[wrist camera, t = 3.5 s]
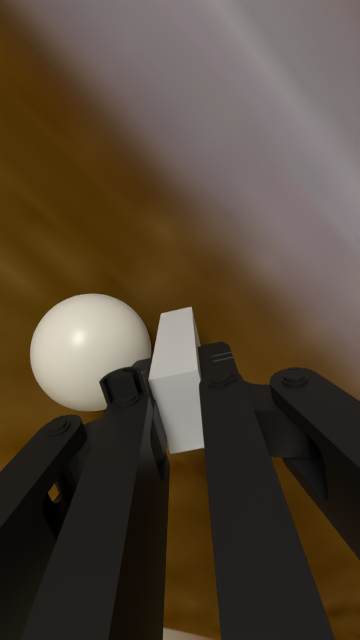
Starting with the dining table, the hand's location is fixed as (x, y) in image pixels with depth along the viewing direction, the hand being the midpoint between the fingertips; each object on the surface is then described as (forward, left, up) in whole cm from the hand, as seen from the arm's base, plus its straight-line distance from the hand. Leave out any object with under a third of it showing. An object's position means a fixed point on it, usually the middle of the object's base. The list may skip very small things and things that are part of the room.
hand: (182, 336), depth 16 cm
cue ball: (+4, 0, +1) cm, 4 cm away
